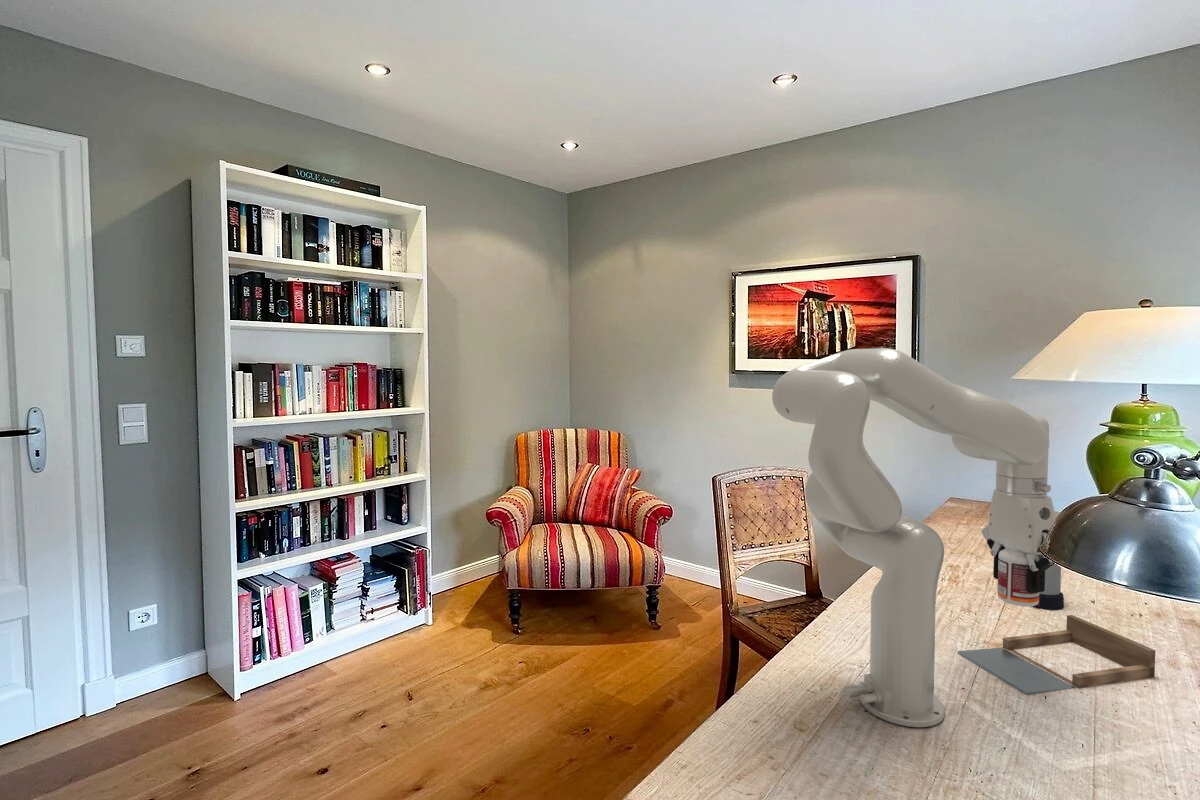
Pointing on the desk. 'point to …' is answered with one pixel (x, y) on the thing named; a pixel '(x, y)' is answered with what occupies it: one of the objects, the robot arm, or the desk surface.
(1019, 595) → the pill bottle
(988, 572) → the desk surface
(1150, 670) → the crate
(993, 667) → the metal panel
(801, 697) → the desk surface
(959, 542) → the desk surface
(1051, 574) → the humidifier
